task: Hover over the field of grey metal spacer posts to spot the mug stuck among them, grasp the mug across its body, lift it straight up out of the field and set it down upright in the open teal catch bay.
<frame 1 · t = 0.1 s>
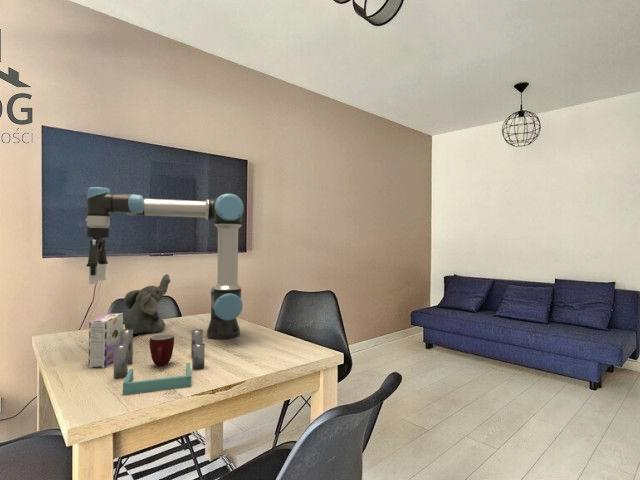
hand: (97, 282, 140), 28 cm above the table, fingers open, 13 cm apart
mug: (161, 366, 128), on the table
spacer front right: (120, 376, 118), on the table
stuffed elephant: (145, 331, 176), on the table
spacer back right: (126, 363, 130), on the table
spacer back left: (196, 356, 139), on the table
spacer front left: (198, 367, 126), on the table
catch bay: (159, 382, 113), on the table
candy box: (106, 362, 132), on the table
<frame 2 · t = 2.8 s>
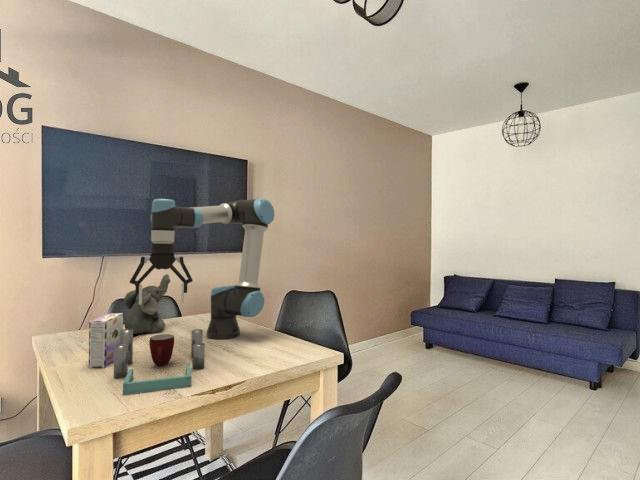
hand: (161, 303, 128), 22 cm above the table, fingers open, 13 cm apart
nothing on the table moved.
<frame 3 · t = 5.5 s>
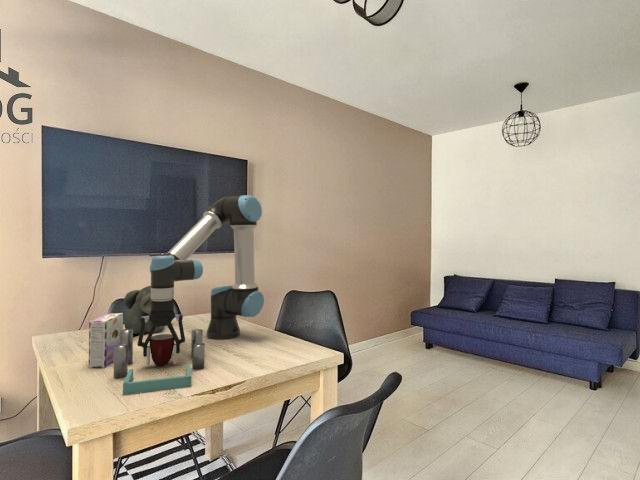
hand: (161, 363, 128), 1 cm above the table, fingers closed on mug, 8 cm apart
mug: (161, 366, 128), on the table, touching gripper
everything else where it was.
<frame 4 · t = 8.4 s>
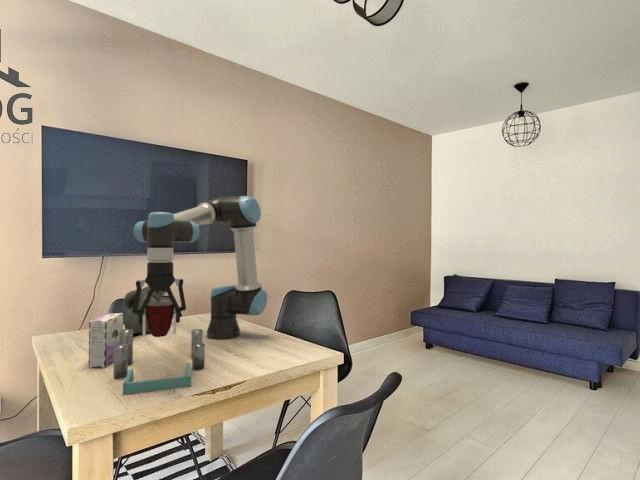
hand: (159, 334, 113), 15 cm above the table, fingers closed on mug, 8 cm apart
mug: (159, 337, 113), point 14 cm above the table, touching gripper
everything else where it was.
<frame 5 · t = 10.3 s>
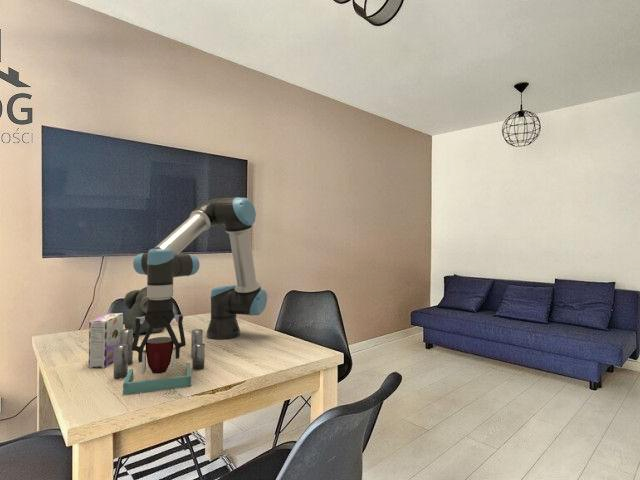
hand: (159, 370, 113), 4 cm above the table, fingers closed on mug, 8 cm apart
mug: (159, 373, 113), point 3 cm above the table, touching gripper
everything else where it was.
when the fingers open (2 cm above the table, at t = 11.6 s): mug stays where it is, on the table.
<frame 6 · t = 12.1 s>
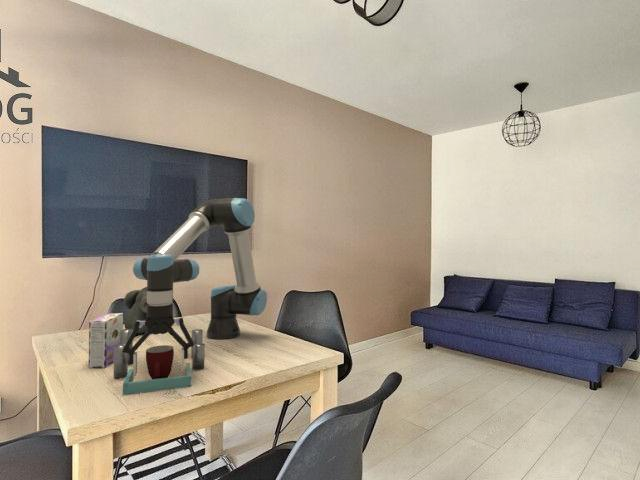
hand: (159, 371, 113), 3 cm above the table, fingers open, 13 cm apart
mug: (159, 382, 113), on the table
everything else where it was.
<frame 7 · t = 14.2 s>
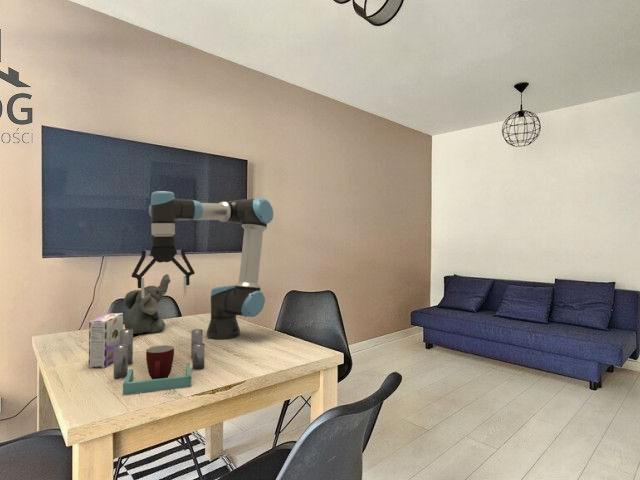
hand: (164, 296, 127), 25 cm above the table, fingers open, 13 cm apart
nothing on the table moved.
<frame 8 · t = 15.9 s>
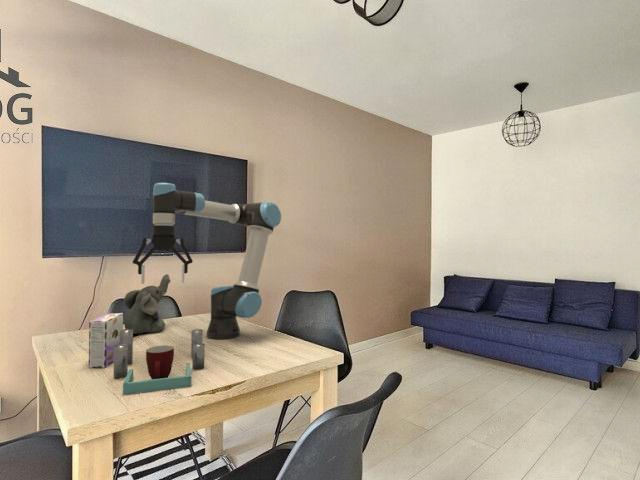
hand: (163, 282, 133), 29 cm above the table, fingers open, 13 cm apart
nothing on the table moved.
at the end: mug inside the target area (0.2 cm from its centre), on the table; mug tilted 0°; the gripper is holding nothing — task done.
